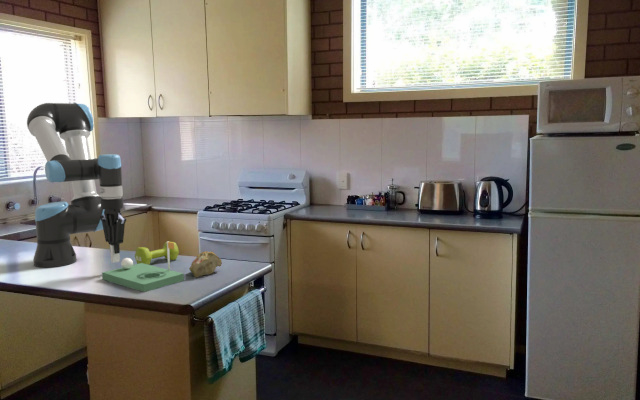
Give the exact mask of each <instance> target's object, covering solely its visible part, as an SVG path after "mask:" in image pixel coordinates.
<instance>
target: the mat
mask: <svg viewBox="0 0 640 400" xmlns="http://www.w3.org/2000/svg"><path fill="white" fill-rule="evenodd" d="M101 275H102V280H103V281H106V282H110V283H114V284H117V285H120V286H123V287H126V288H129V289H130V288H131V289H133V290H135V291H140V292H143V293H145V292H149V291H153V290H156V289H160V288H162V287H166V286H170V285H172V284H173V285H174V284H177V283H180V282H183V281H184V282H185V279H184V278H185V276H184V275H185V274H184V273H183V272H179V271H175V270H171V269H170V271H168V268H162V267H158V266H156V265H151V264H150V265H148V264H144V263H139V264H137V263H136V264H133V266H132V267H131V268H130V269H124V268H123V267H119V268H115V269H112V270H107V271H103V272H101Z"/></svg>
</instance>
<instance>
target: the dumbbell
mask: <svg viewBox="0 0 640 400" xmlns="http://www.w3.org/2000/svg"><path fill="white" fill-rule="evenodd" d="M171 242H172V243H174V249H170V248H169V257H170V261H174V260H177V259H178V256H179V253H180V251H179V247H178V245H177V243H176V242H174V241H171ZM163 257H164V258H165V260H167V261H168V258H167V241H166V242H165V243H164V244H163V247H162V248H159V249H155V250H151V251H150V249H149V248H148V247H145V246H139V247H137V248H136V249H135V253H134V258H135V262H136V264H139V263H144V264H148V265H151V263H152V260H153V259H159V258H163Z"/></svg>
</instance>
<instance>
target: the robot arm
mask: <svg viewBox="0 0 640 400" xmlns="http://www.w3.org/2000/svg"><path fill="white" fill-rule="evenodd" d="M94 126H95V125H94V117H93V114H92V111H91V109H90V108H89V106H87V104H85V103H77V102H73V103H69V102H68V103H66V102H65V103H63V102H55V103H54V102H45V103H42V104H41V103H40V104H39V105H37V106H35V107H34V108H33V109H32V110H31V111H30V112H29V114H28V116H27V118H26V127H27V129H28V131H29V133H30V134H31V135H32V136H33V137H35V139H36V142H37V143H38V145H39V148H40V149H41V152H42V154H43V156H44V158H45V160H46V162H45V165H44V173H45V174H44V175H45V177H46V180H47V181H48V182H50V183H65V182H71V185H72V186H71V187H72V192H73V197H72V199H71V200H70V203H71V204H69V203H68V202H67V201H64V200H61V201H54V202H48V203H43V204H42V205H39V206H37V207H36V209H35V210H34V212H35V213H34V221H35V230H36V231H35V233H36V243H37V244H36V248H35V252H34V255H33V258H32V259H33V266H35V267H39V268H55V267H56V268H57V267H62V266H68V265H71V264H74V263H76V262H77V253H76V251H75V249H74V247H73V245H72V241H71V235H74V234H82V233H90V232H91V233H92V232H93V233H95V232H98V231H103V234H104V240H105V242H106V243H108V245H109V251H110V253H109V254H110V263H113V264H115V263H119V262H121V256H120V252H121V251H120V250H121V249H120V244H123V243H124V240H125V239H124V236H125V225H126V222H127V218H126V217H123V216H122V211H121V209H122V208H124V199H123V196H124V195H123V194H124V193H123V192H124V191H123V177H122V160H121V156H120V155H119V154H117V153H116V154H114V153H113V154H112V153H111V154H110V153H109V154H107V153H105V154H99V155H98V157H97V158H96V157H95V158H91V153H90V146H89V142H88V138H89V137H90V135H91V132H93V130H94ZM58 133H59V134H58ZM61 139H62V140H63V141H64V144H65V146H64V144H63V142H62V140H61ZM96 180H99V192H100V193H99V194H98V193H97V187H96V186H97V185H96Z"/></svg>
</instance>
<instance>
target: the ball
mask: <svg viewBox="0 0 640 400" xmlns="http://www.w3.org/2000/svg"><path fill="white" fill-rule="evenodd" d="M120 265H121V268H124V269H130V268H131V267H132V266H133V265H134V261H133V260H132V258H130V257H124V258H123V259H122V260H121V261H120Z"/></svg>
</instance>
